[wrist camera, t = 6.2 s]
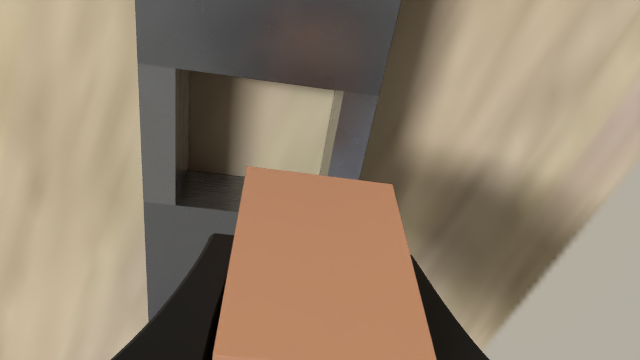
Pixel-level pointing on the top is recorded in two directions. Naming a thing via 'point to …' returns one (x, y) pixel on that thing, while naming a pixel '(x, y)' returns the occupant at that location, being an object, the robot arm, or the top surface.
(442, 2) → the top surface
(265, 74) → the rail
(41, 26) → the top surface
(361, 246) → the square block
